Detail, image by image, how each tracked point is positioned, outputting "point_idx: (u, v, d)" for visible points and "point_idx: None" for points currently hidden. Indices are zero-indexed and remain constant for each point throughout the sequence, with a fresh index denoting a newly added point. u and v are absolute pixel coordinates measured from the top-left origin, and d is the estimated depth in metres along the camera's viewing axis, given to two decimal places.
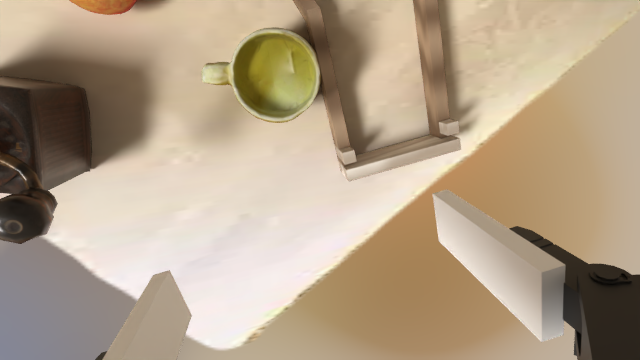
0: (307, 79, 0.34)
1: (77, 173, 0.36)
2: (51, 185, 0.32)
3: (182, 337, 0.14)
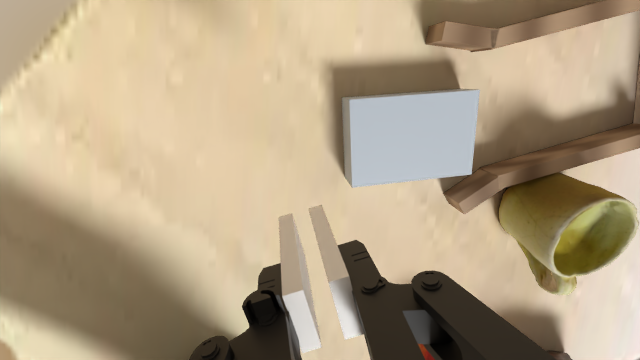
0: None
1: None
2: None
3: None
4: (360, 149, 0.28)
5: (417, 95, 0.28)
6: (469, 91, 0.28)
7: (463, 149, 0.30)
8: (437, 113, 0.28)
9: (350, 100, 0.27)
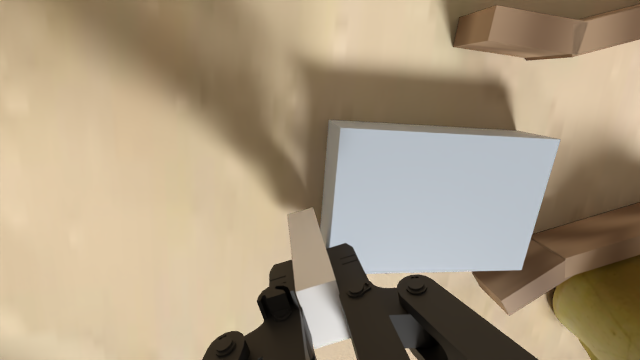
0: None
1: None
2: None
3: None
4: (349, 215, 0.16)
5: (458, 135, 0.16)
6: (543, 140, 0.17)
7: (516, 231, 0.18)
8: (486, 169, 0.17)
9: (342, 129, 0.15)
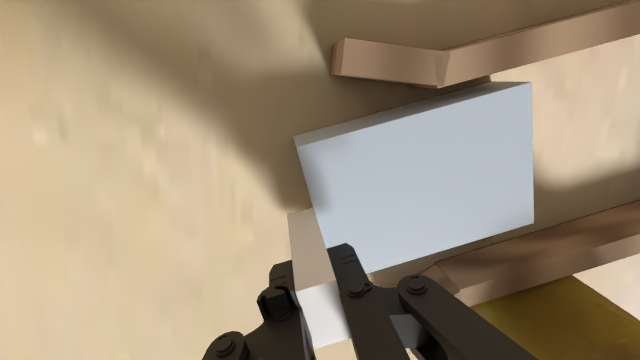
0: None
1: None
2: None
3: None
4: (335, 224, 0.16)
5: (419, 114, 0.15)
6: (513, 88, 0.15)
7: (515, 187, 0.17)
8: (460, 138, 0.16)
9: (299, 148, 0.15)
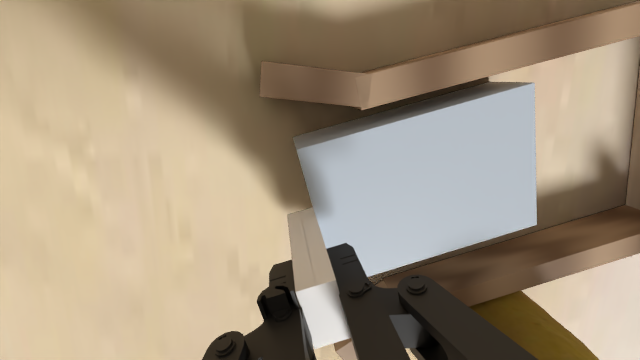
0: None
1: None
2: None
3: None
4: (336, 227, 0.16)
5: (420, 116, 0.15)
6: (515, 89, 0.15)
7: (517, 189, 0.17)
8: (462, 139, 0.16)
9: (299, 150, 0.15)
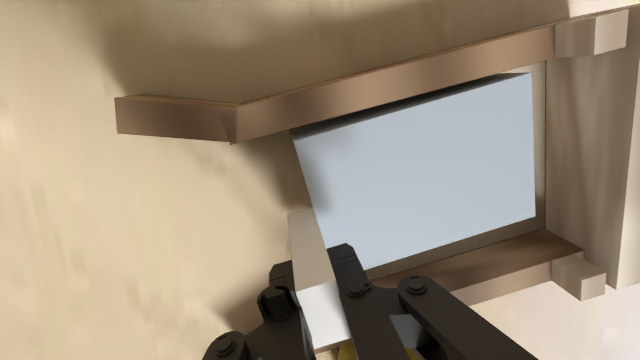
0: None
1: None
2: None
3: None
4: (334, 219, 0.16)
5: (417, 107, 0.15)
6: (512, 79, 0.15)
7: (515, 180, 0.17)
8: (459, 130, 0.16)
9: (296, 142, 0.15)
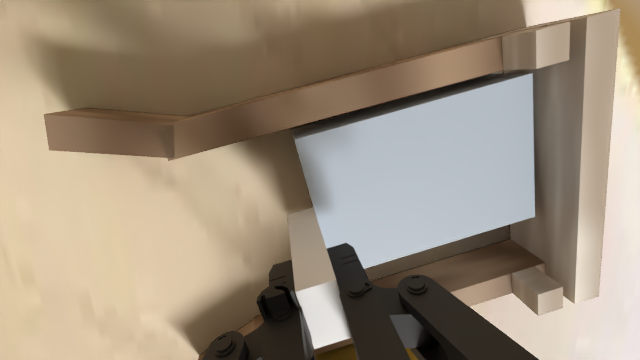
0: None
1: None
2: None
3: None
4: (334, 217, 0.16)
5: (418, 106, 0.15)
6: (513, 79, 0.15)
7: (515, 180, 0.17)
8: (460, 130, 0.16)
9: (296, 140, 0.15)
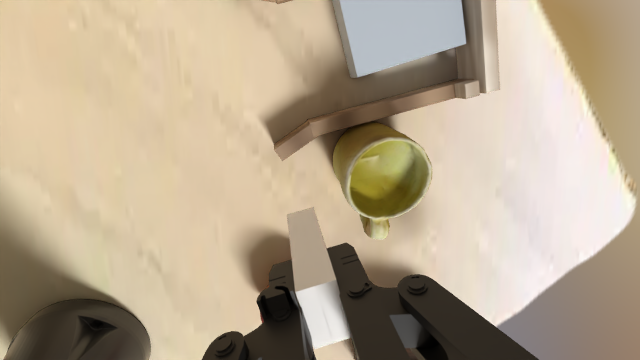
0: (386, 142, 0.32)
1: None
2: None
3: None
4: (357, 38, 0.31)
5: None
6: None
7: (453, 19, 0.32)
8: None
9: None
